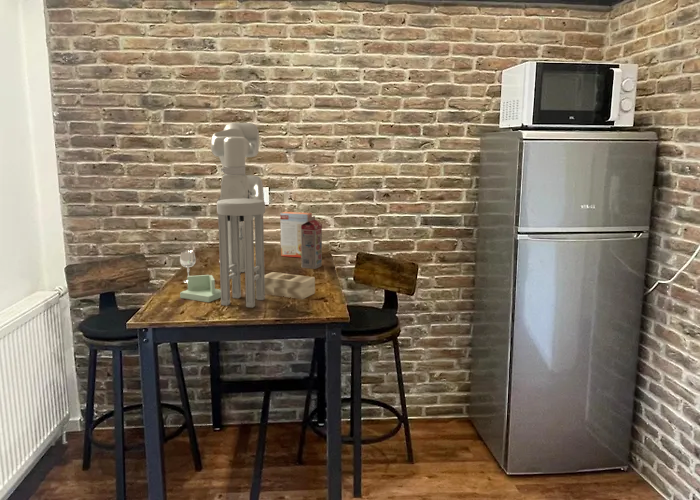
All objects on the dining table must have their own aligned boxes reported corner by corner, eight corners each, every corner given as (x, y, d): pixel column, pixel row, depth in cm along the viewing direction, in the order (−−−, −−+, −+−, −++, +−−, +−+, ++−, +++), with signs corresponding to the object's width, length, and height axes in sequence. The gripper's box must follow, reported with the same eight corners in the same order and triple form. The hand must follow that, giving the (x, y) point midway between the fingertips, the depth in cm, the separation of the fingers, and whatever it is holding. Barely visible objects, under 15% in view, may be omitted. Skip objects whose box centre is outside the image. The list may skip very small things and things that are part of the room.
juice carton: (301, 267, 254) (301, 217, 250) (308, 264, 260) (308, 215, 256) (315, 268, 252) (315, 218, 248) (321, 265, 258) (321, 216, 254)
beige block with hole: (259, 293, 213) (259, 277, 212) (273, 287, 221) (272, 271, 220) (302, 299, 206) (302, 282, 205) (314, 293, 214) (314, 277, 213)
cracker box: (312, 256, 278) (312, 212, 274) (307, 258, 272) (307, 214, 268) (286, 254, 282) (285, 211, 278) (280, 256, 277) (279, 212, 273)
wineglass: (182, 283, 225) (181, 253, 223) (179, 280, 230) (178, 250, 228) (197, 282, 228) (196, 252, 225) (194, 279, 233) (193, 249, 230)
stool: (272, 297, 208) (270, 199, 201) (256, 309, 193) (253, 204, 186) (232, 294, 211) (229, 197, 204) (212, 306, 196) (208, 202, 190)
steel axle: (229, 240, 218) (228, 208, 216) (233, 238, 222) (232, 206, 220) (240, 240, 217) (239, 208, 215) (244, 238, 222) (243, 207, 219)
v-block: (198, 291, 214) (197, 272, 213) (225, 295, 209) (224, 276, 208) (180, 297, 206) (179, 278, 205) (208, 302, 201) (207, 282, 200)
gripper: (209, 171, 213) (211, 221, 216) (253, 172, 210) (254, 223, 213) (217, 170, 220) (219, 218, 223) (260, 171, 217) (261, 220, 221)
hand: (236, 220), depth 218 cm, fingers closed on steel axle, 4 cm apart
